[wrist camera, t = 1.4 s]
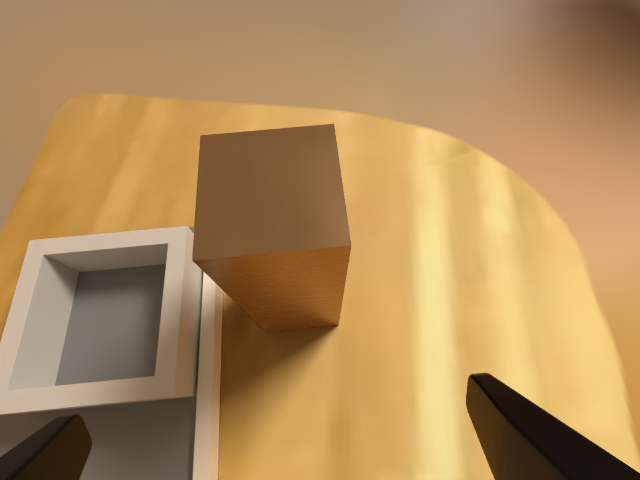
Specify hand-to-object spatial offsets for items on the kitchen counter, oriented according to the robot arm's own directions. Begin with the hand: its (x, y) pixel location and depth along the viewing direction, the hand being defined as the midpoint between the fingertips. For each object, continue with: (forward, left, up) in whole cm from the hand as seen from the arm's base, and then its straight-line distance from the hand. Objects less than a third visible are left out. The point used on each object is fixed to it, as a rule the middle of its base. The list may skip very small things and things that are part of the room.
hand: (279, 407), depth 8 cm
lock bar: (+6, 0, -13) cm, 14 cm away
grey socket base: (+1, +11, -12) cm, 17 cm away
